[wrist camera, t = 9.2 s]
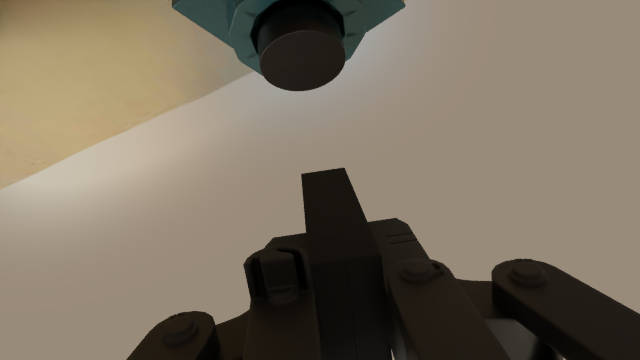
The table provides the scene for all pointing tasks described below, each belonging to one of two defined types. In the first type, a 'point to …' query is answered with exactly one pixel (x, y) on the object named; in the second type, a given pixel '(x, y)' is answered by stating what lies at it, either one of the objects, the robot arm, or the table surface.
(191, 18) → the teal block with knob
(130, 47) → the table surface
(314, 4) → the push button
